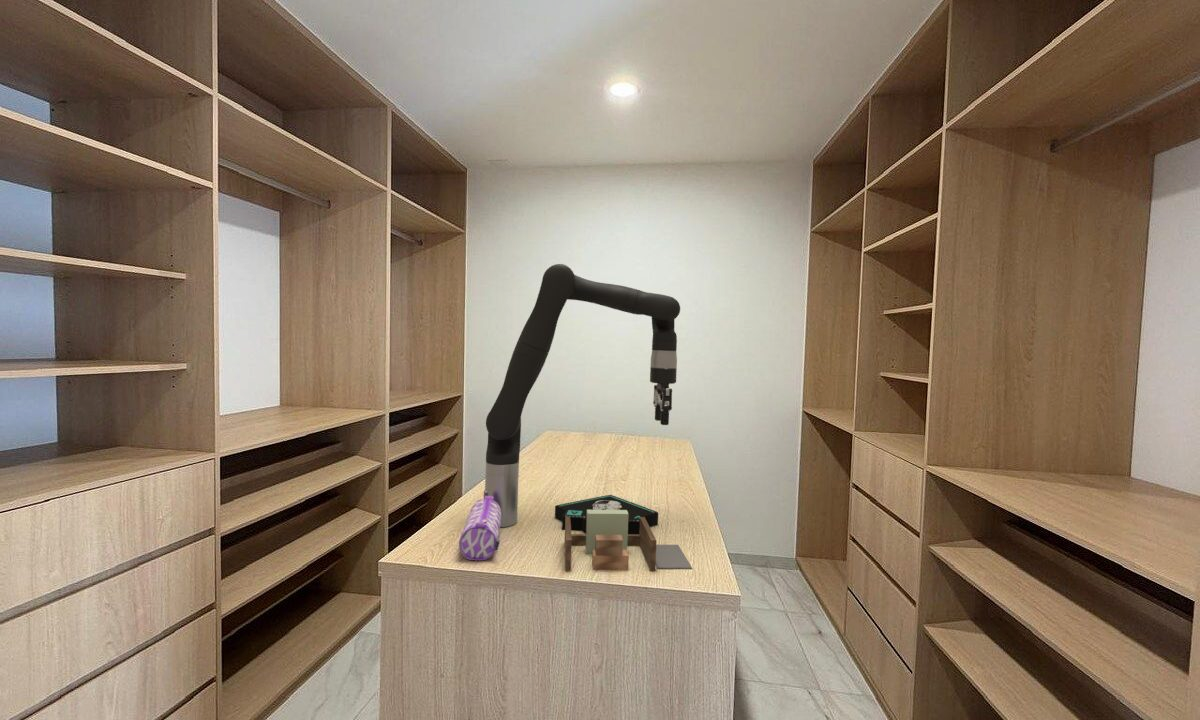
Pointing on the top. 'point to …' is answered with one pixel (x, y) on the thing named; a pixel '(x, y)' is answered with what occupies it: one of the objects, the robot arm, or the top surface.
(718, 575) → the top surface
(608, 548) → the upper offcut
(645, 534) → the rack
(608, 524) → the green board
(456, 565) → the top surface
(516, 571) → the top surface
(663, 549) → the felt pad
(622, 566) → the block
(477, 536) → the pencil case
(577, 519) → the wall plaque
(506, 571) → the top surface
